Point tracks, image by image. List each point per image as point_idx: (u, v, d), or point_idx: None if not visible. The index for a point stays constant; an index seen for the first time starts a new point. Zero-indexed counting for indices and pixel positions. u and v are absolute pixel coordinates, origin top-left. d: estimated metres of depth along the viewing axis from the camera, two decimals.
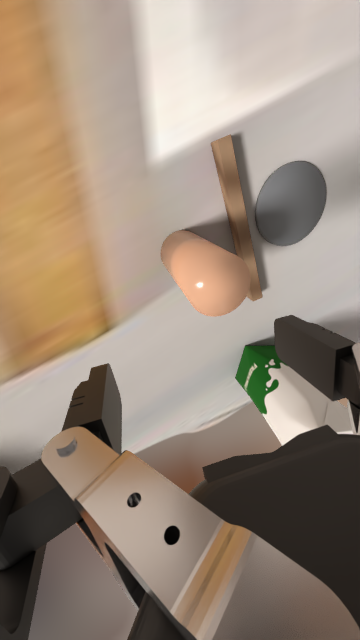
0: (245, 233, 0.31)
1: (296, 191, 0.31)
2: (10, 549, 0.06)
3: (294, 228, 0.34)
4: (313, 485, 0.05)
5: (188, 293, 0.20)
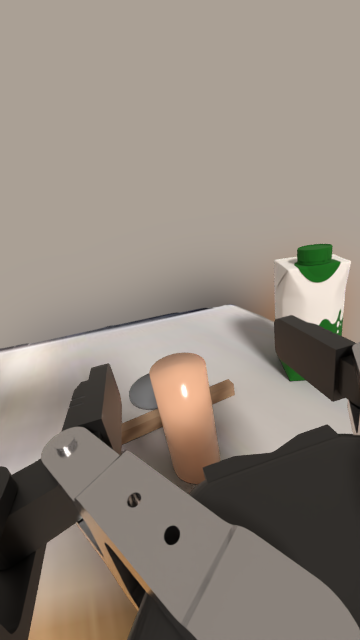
0: None
1: (147, 387, 0.43)
2: (10, 549, 0.06)
3: None
4: (313, 485, 0.05)
5: (182, 384, 0.22)
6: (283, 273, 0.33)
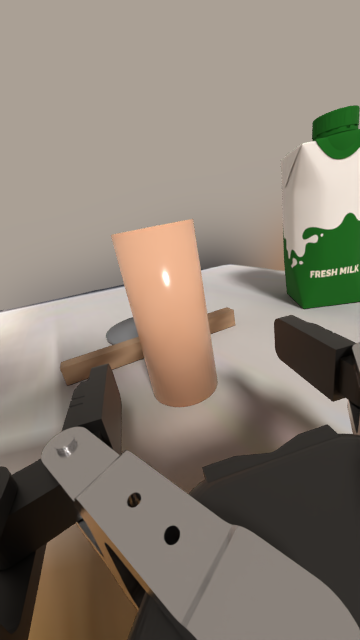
0: None
1: (129, 327, 0.35)
2: (10, 549, 0.06)
3: None
4: (313, 485, 0.05)
5: (156, 227, 0.14)
6: (295, 155, 0.26)
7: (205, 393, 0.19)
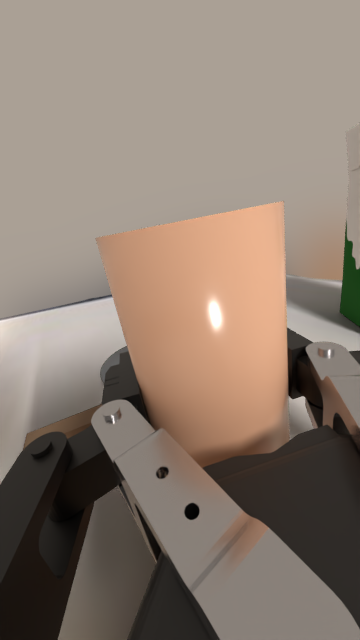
0: None
1: None
2: (63, 505, 0.06)
3: None
4: (313, 485, 0.05)
5: (214, 218, 0.05)
6: None
7: None
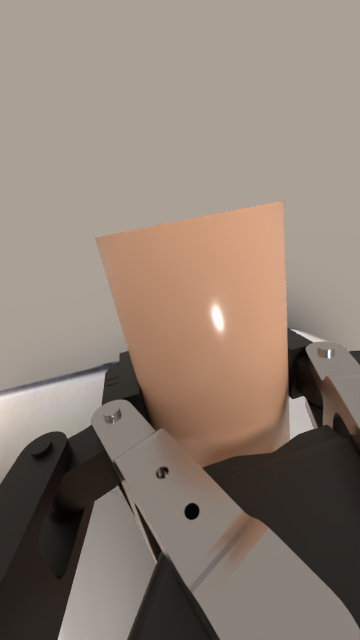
0: None
1: None
2: (63, 505, 0.06)
3: None
4: (313, 485, 0.05)
5: (214, 218, 0.05)
6: None
7: None
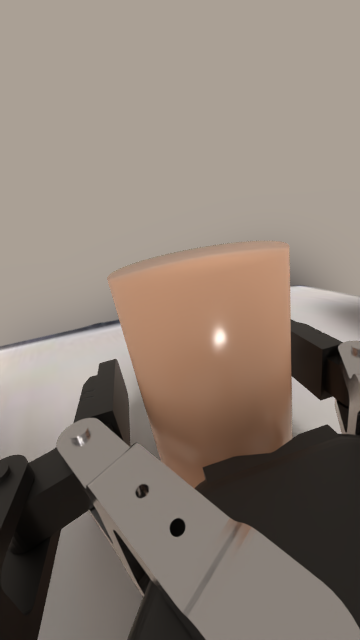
0: None
1: None
2: (26, 534, 0.06)
3: None
4: (313, 485, 0.05)
5: (224, 274, 0.05)
6: None
7: None
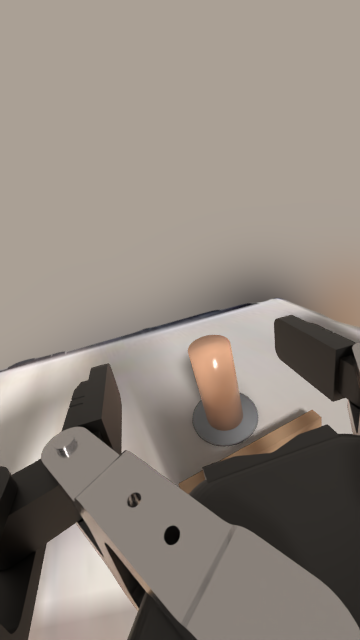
0: (254, 446, 0.31)
1: None
2: (10, 549, 0.06)
3: None
4: (313, 485, 0.05)
5: (214, 359, 0.30)
6: None
7: (237, 423, 0.36)
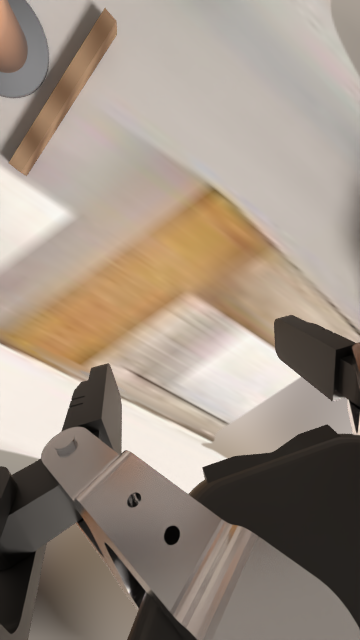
0: (60, 90, 0.29)
1: None
2: (10, 549, 0.06)
3: None
4: (313, 485, 0.05)
5: None
6: None
7: (24, 55, 0.28)
